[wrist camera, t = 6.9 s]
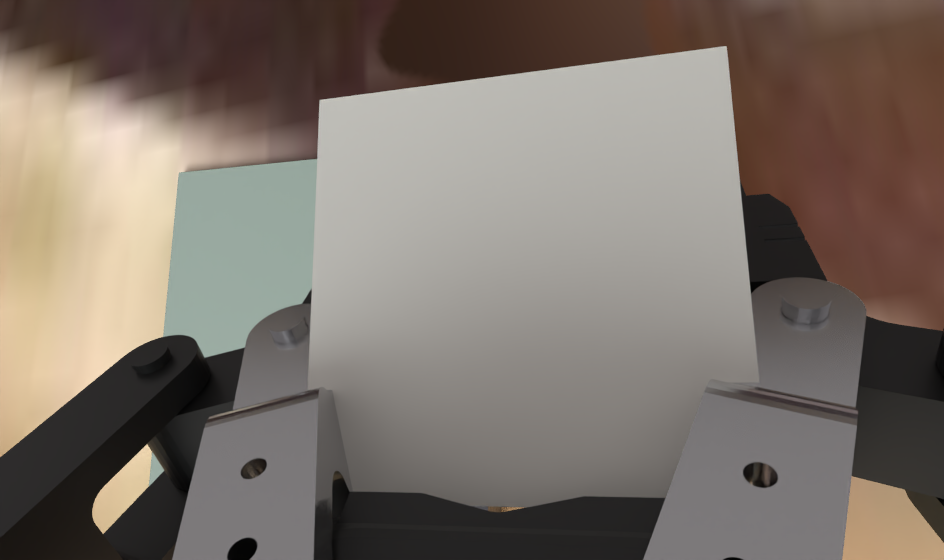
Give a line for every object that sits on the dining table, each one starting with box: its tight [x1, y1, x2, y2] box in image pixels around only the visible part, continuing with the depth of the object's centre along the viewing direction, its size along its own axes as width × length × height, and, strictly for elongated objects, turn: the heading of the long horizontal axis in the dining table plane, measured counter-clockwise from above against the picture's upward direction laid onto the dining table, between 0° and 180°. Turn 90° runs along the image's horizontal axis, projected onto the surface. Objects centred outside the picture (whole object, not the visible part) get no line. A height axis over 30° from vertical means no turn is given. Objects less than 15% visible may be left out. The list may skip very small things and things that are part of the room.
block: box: [308, 46, 759, 507], centre depth 12 cm, size 5×5×9 cm
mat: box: [149, 159, 317, 486], centre depth 28 cm, size 12×20×1 cm, turn 1°
